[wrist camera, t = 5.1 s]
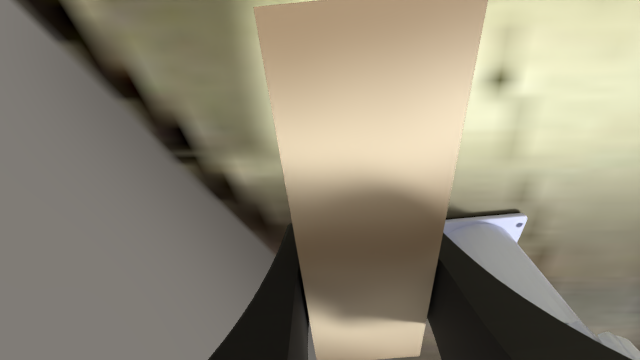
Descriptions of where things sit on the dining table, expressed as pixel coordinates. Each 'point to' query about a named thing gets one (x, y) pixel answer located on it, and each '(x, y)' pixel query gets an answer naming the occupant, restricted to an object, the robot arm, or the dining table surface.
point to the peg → (369, 156)
